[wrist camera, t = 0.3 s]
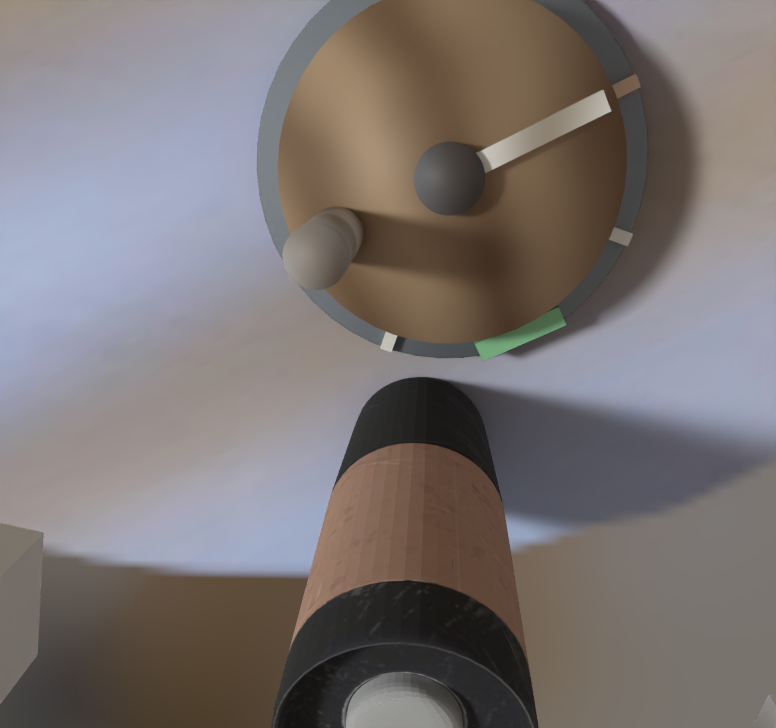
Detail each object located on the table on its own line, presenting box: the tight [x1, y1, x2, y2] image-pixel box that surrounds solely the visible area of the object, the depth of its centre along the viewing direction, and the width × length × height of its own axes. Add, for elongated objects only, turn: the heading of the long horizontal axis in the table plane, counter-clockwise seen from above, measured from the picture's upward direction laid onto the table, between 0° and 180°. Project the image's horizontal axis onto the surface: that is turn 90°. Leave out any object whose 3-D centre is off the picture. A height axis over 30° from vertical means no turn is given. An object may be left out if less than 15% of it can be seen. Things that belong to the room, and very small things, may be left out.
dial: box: [278, 0, 627, 343], centre depth 28 cm, size 15×15×8 cm
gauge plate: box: [257, 0, 648, 361], centre depth 32 cm, size 18×18×2 cm
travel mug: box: [271, 377, 538, 728], centre depth 28 cm, size 8×8×20 cm
